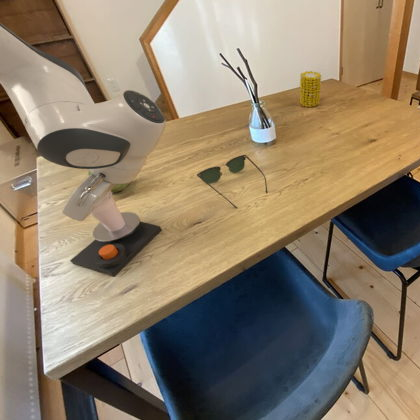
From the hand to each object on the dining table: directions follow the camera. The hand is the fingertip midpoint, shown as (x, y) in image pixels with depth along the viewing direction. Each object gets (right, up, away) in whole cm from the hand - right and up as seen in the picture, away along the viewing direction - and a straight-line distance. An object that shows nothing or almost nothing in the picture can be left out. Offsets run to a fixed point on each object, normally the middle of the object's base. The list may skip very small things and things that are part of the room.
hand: (94, 199), depth 62 cm
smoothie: (+1, -6, +6) cm, 9 cm away
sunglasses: (+25, +4, +23) cm, 34 cm away
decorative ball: (-11, +4, +23) cm, 26 cm away
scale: (+2, -11, +6) cm, 13 cm away
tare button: (+3, -12, 0) cm, 13 cm away
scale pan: (+1, -7, +6) cm, 9 cm away
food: (+45, +48, +71) cm, 97 cm away
